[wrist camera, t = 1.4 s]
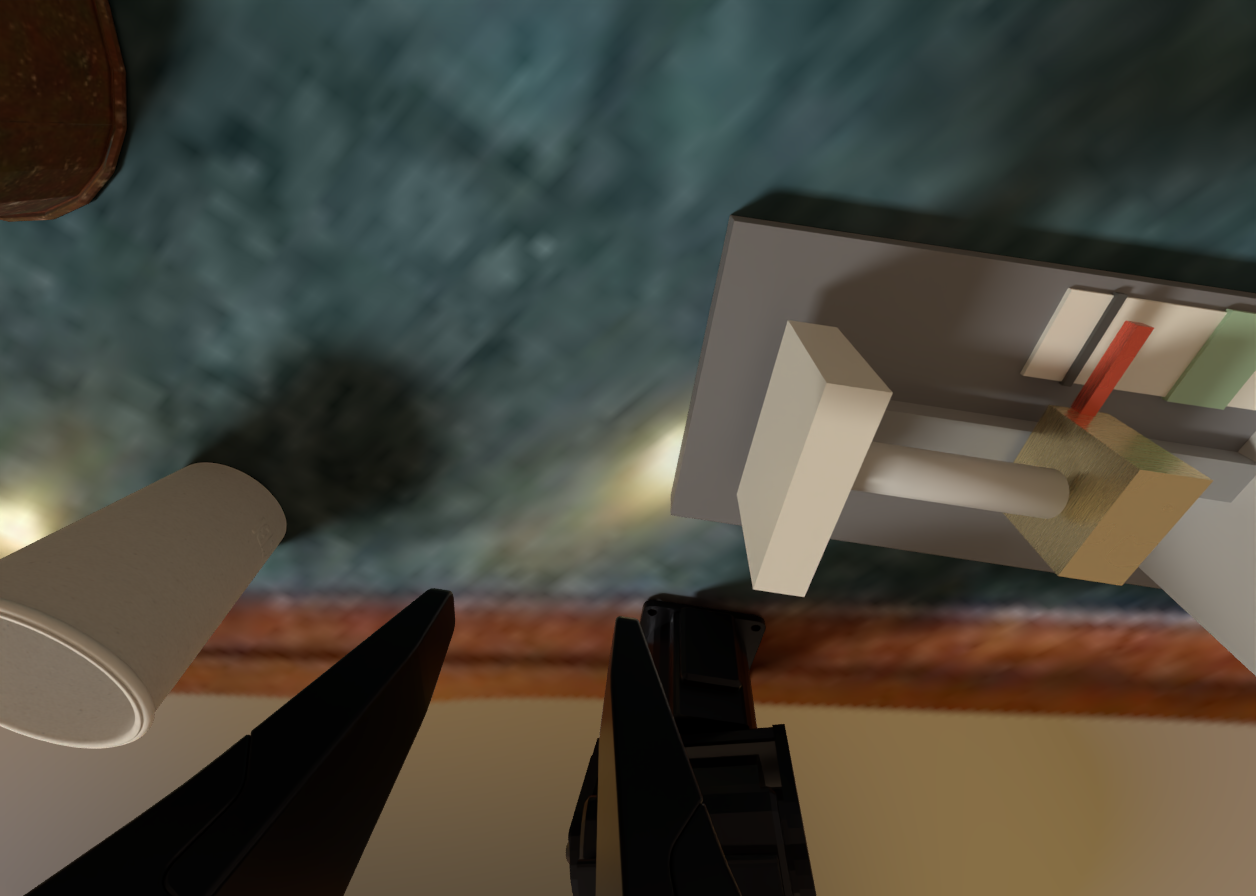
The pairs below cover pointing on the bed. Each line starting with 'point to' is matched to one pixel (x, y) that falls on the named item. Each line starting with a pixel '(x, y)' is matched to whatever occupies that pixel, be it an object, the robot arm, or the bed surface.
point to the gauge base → (990, 390)
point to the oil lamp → (58, 105)
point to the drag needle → (1105, 479)
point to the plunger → (850, 461)
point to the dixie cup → (126, 603)
